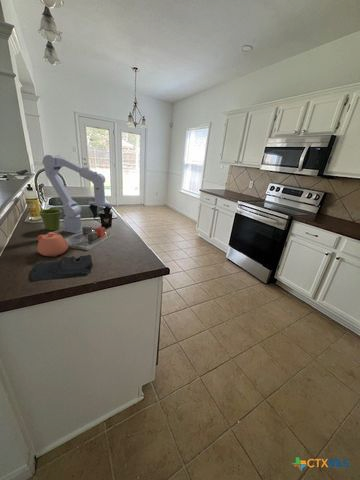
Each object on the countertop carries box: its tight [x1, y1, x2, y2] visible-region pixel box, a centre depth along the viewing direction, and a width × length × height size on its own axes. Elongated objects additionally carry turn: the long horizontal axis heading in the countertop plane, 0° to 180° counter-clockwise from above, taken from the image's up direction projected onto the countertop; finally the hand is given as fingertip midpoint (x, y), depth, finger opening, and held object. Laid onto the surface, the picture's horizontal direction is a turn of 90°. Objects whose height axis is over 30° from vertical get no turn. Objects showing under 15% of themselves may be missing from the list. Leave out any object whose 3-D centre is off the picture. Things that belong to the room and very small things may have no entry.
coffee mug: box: [92, 210, 113, 229], centre depth 137 cm, size 12×9×10 cm
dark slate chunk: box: [29, 254, 94, 283], centre depth 82 cm, size 15×22×5 cm
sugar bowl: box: [37, 231, 69, 257], centre depth 94 cm, size 12×14×10 cm
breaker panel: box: [64, 229, 114, 252], centre depth 113 cm, size 18×24×2 cm
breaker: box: [81, 225, 92, 234], centre depth 119 cm, size 3×4×4 cm
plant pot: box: [37, 208, 62, 231], centre depth 124 cm, size 12×12×11 cm
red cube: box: [94, 226, 106, 237], centre depth 116 cm, size 4×4×4 cm
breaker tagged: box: [88, 232, 97, 241], centre depth 110 cm, size 3×4×4 cm
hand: (101, 218), depth 123 cm, fingers open, 7 cm apart
